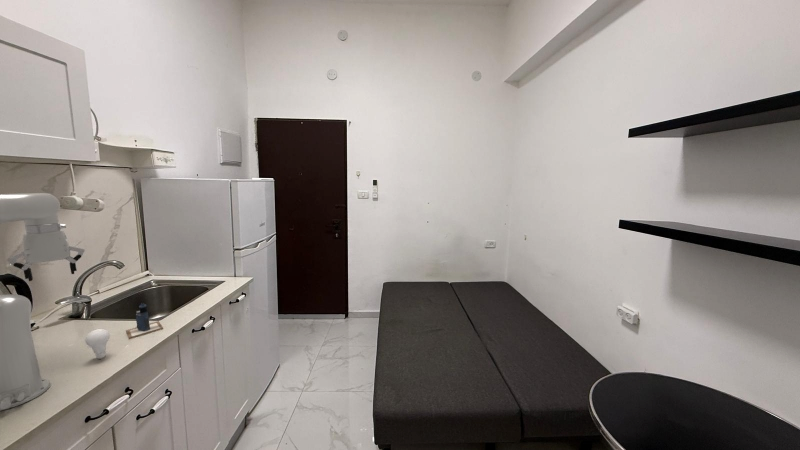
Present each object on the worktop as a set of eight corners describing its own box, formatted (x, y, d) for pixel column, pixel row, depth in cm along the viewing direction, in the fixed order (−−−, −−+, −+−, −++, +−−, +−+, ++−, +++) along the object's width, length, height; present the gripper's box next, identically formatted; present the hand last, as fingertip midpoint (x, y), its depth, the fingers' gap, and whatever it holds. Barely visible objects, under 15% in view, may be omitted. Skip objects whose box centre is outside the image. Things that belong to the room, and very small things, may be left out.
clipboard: (163, 328, 127) (162, 325, 127) (129, 339, 119) (128, 336, 118) (158, 322, 133) (158, 319, 132) (126, 331, 124) (125, 328, 124)
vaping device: (145, 332, 123) (141, 305, 121) (136, 330, 124) (132, 303, 122) (151, 329, 125) (147, 302, 123) (143, 327, 127) (139, 301, 125)
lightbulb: (101, 363, 103) (96, 334, 101) (83, 363, 103) (78, 334, 101) (117, 353, 109) (113, 325, 107) (101, 353, 109) (96, 325, 107)
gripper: (79, 225, 109) (87, 268, 112) (2, 231, 97) (13, 280, 99) (80, 227, 105) (88, 273, 107) (-1, 234, 92) (11, 285, 94)
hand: (52, 276), depth 103 cm, fingers open, 9 cm apart
